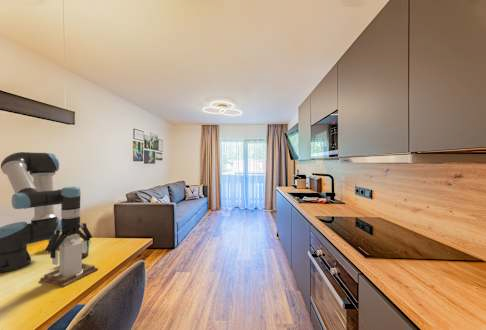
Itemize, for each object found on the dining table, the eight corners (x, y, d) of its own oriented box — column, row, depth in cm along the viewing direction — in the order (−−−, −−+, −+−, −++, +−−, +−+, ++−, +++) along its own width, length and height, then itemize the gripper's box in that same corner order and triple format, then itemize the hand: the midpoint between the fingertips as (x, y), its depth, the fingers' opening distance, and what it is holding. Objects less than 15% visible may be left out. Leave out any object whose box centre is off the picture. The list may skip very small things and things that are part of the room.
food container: (76, 262, 118) (76, 245, 118) (67, 261, 119) (68, 244, 119) (95, 253, 130) (95, 238, 130) (87, 253, 132) (87, 237, 132)
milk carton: (59, 273, 104) (59, 236, 104) (76, 268, 110) (76, 232, 110) (64, 278, 100) (64, 239, 100) (81, 271, 106) (81, 235, 106)
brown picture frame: (40, 280, 100) (40, 275, 100) (75, 265, 115) (75, 260, 115) (64, 286, 95) (64, 281, 95) (97, 270, 110) (97, 265, 110)
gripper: (46, 224, 92) (45, 271, 92) (99, 212, 116) (99, 249, 116) (35, 222, 94) (35, 268, 94) (90, 211, 118) (89, 247, 118)
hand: (70, 258), depth 105 cm, fingers open, 13 cm apart
